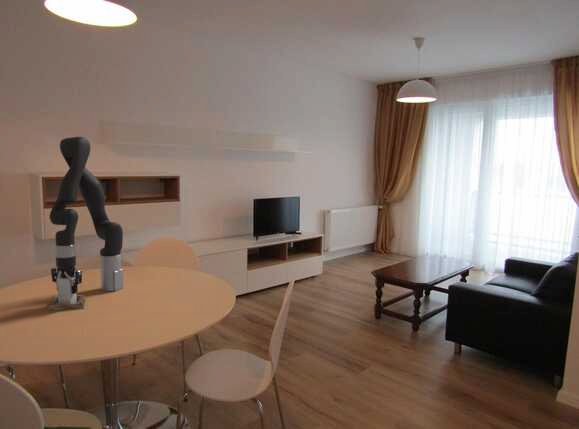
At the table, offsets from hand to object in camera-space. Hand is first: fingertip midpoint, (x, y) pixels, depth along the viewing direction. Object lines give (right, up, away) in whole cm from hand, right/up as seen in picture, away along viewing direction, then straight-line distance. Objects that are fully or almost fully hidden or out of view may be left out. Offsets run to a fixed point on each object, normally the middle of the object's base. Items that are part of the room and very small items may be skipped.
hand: (67, 292), depth 176 cm
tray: (0, -6, +1) cm, 6 cm away
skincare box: (0, -6, +1) cm, 6 cm away
